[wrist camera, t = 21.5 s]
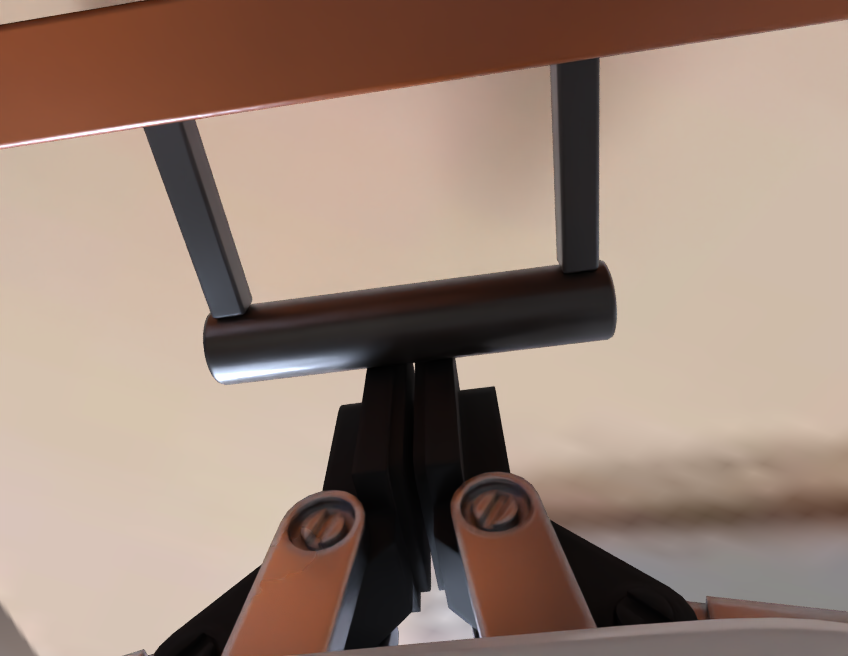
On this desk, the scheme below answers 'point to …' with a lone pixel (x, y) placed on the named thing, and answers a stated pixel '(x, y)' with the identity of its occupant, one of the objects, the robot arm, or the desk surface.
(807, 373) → the desk surface
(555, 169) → the drawer
